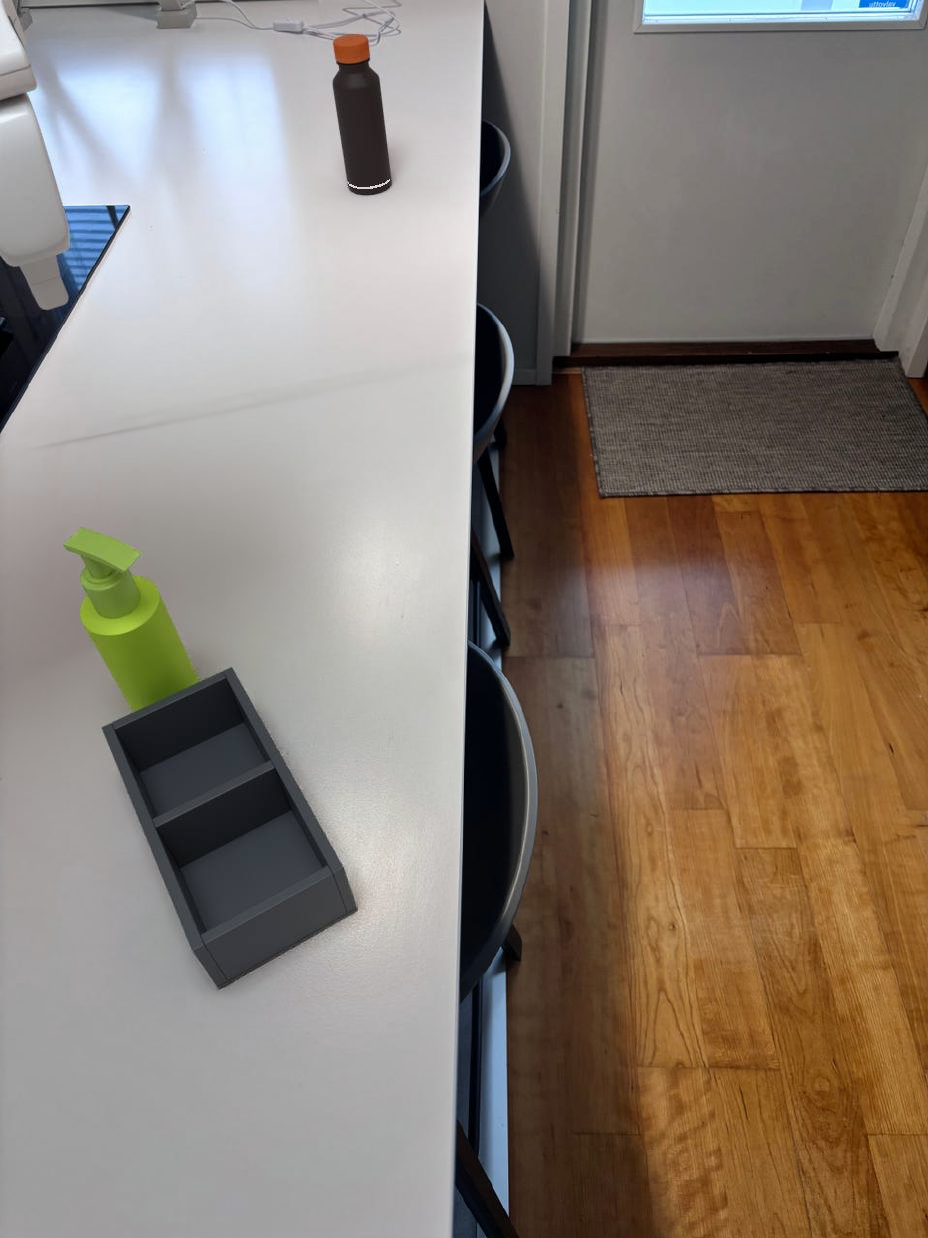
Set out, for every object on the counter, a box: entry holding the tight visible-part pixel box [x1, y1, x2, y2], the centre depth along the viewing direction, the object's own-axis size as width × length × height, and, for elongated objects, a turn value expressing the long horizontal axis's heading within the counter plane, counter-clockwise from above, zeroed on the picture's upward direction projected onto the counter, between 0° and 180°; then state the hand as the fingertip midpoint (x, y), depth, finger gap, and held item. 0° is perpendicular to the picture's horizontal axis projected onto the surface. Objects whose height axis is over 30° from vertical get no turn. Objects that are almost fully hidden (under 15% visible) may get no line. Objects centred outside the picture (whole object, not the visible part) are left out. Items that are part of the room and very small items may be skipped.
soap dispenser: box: [63, 526, 201, 713], centre depth 73 cm, size 6×7×20 cm
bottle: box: [331, 33, 392, 195], centre depth 138 cm, size 7×7×20 cm
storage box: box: [101, 666, 359, 990], centre depth 70 cm, size 11×20×6 cm, turn 31°
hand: (34, 270), depth 60 cm, fingers open, 8 cm apart
